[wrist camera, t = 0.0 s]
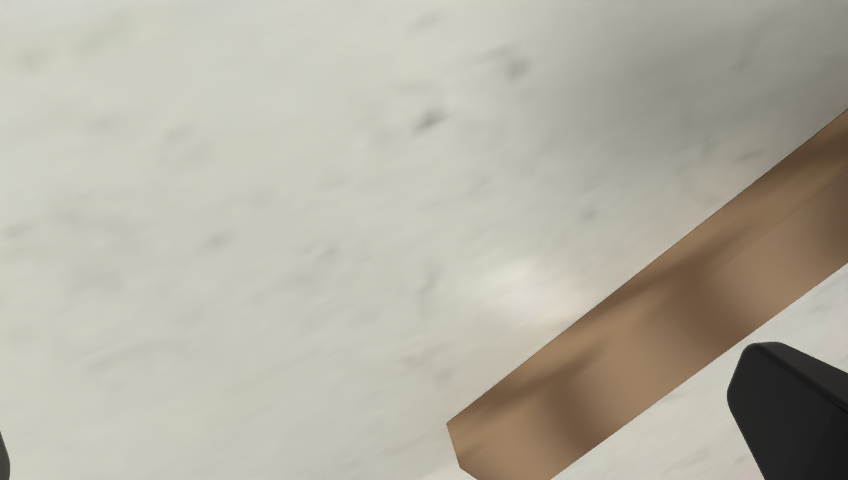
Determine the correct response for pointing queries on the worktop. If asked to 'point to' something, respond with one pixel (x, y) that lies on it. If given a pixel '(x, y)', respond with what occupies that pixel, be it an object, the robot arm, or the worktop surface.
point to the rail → (667, 319)
